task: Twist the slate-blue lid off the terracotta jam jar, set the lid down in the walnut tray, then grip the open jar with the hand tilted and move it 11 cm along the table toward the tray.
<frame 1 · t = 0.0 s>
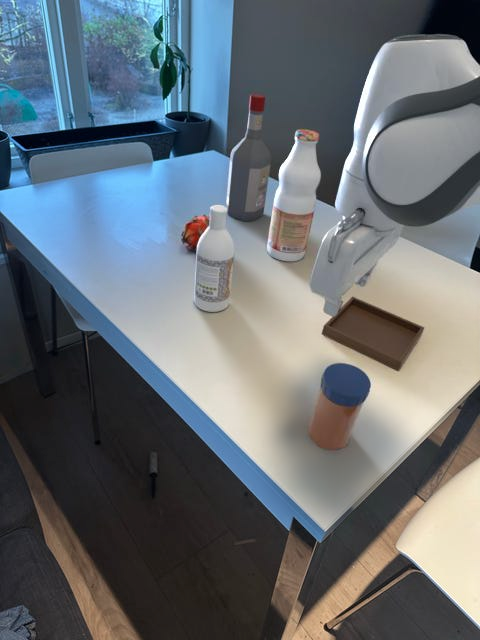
hand: (346, 297, 60), 19 cm above the table, tool pointing down, fingers open, 8 cm apart
liquor: (244, 214, 124), on the table
jar: (328, 432, 66), on the table
bath foam: (211, 303, 89), on the table
fruit juice: (285, 253, 109), on the table
tray: (372, 335, 86), on the table
dragon fruit: (200, 248, 106), on the table
jar lid: (346, 381, 59), point 11 cm above the table, screwed on, not yet turned
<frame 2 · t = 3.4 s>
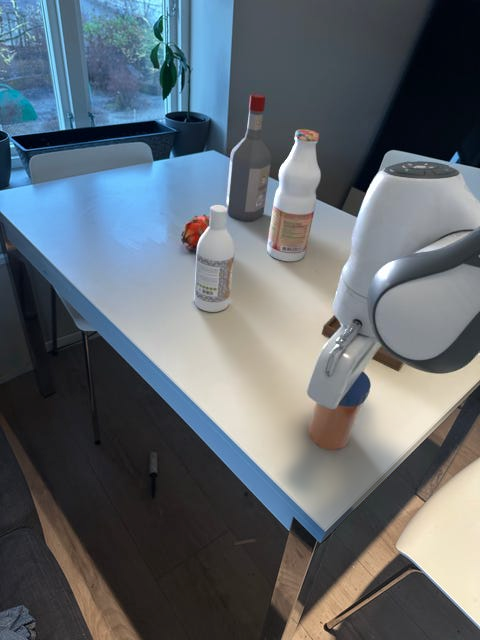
hand: (344, 387, 60), 10 cm above the table, tool pointing down, fingers closed on jar lid, 6 cm apart
jar lid: (346, 381, 59), point 11 cm above the table, screwed on, not yet turned, touching gripper
everything else where it was.
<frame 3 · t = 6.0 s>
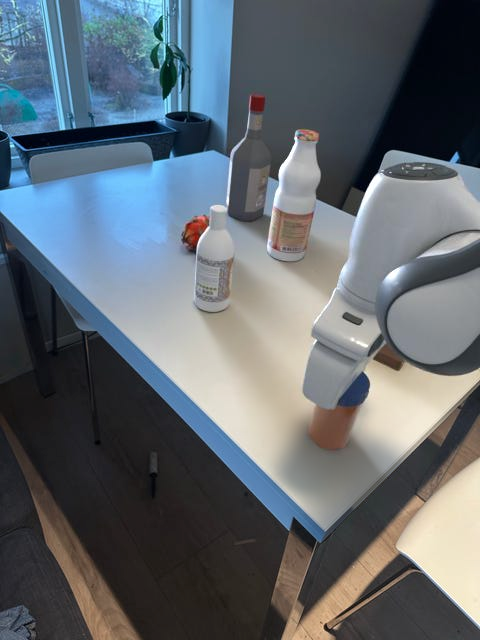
hand: (343, 388, 60), 9 cm above the table, tool pointing down, fingers closed on jar lid, 6 cm apart
jar lid: (345, 381, 59), point 11 cm above the table, off its thread, touching gripper
everything else where it was.
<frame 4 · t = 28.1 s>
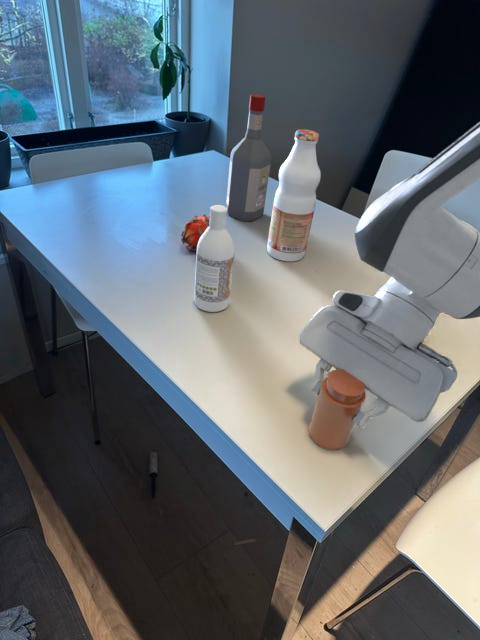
hand: (335, 408, 62), 6 cm above the table, tool tilted 45°, fingers closed on jar, 6 cm apart
jar: (328, 432, 66), on the table, touching gripper
jar lid: (374, 326, 85), point 2 cm above the table, off its thread, touching tray
everything else where it was.
when the fingers open (6 cm above the table, at t = 35.4 s): jar stays where it is, on the table.
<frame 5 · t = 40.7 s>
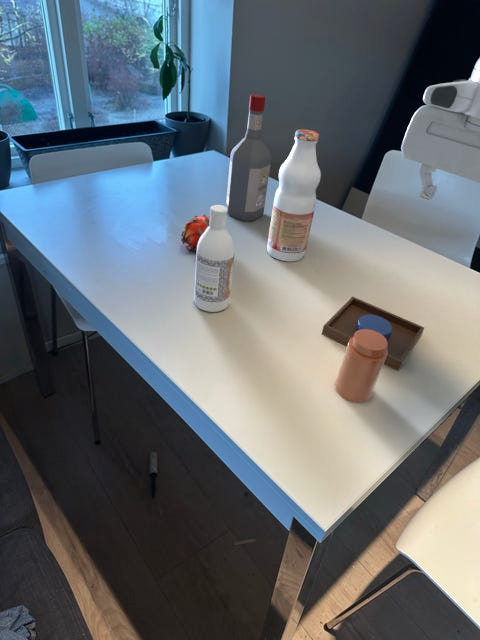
hand: (456, 209, 62), 29 cm above the table, tool pointing down, fingers open, 8 cm apart
jar: (353, 388, 73), on the table
everything else where it was.
at the end: jar lid came off its thread; jar lid inside the target area in the tray (0.1 cm from its centre), point 2.1 cm above the tray's base; jar inside the target area (0.1 cm from its centre), on the table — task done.
